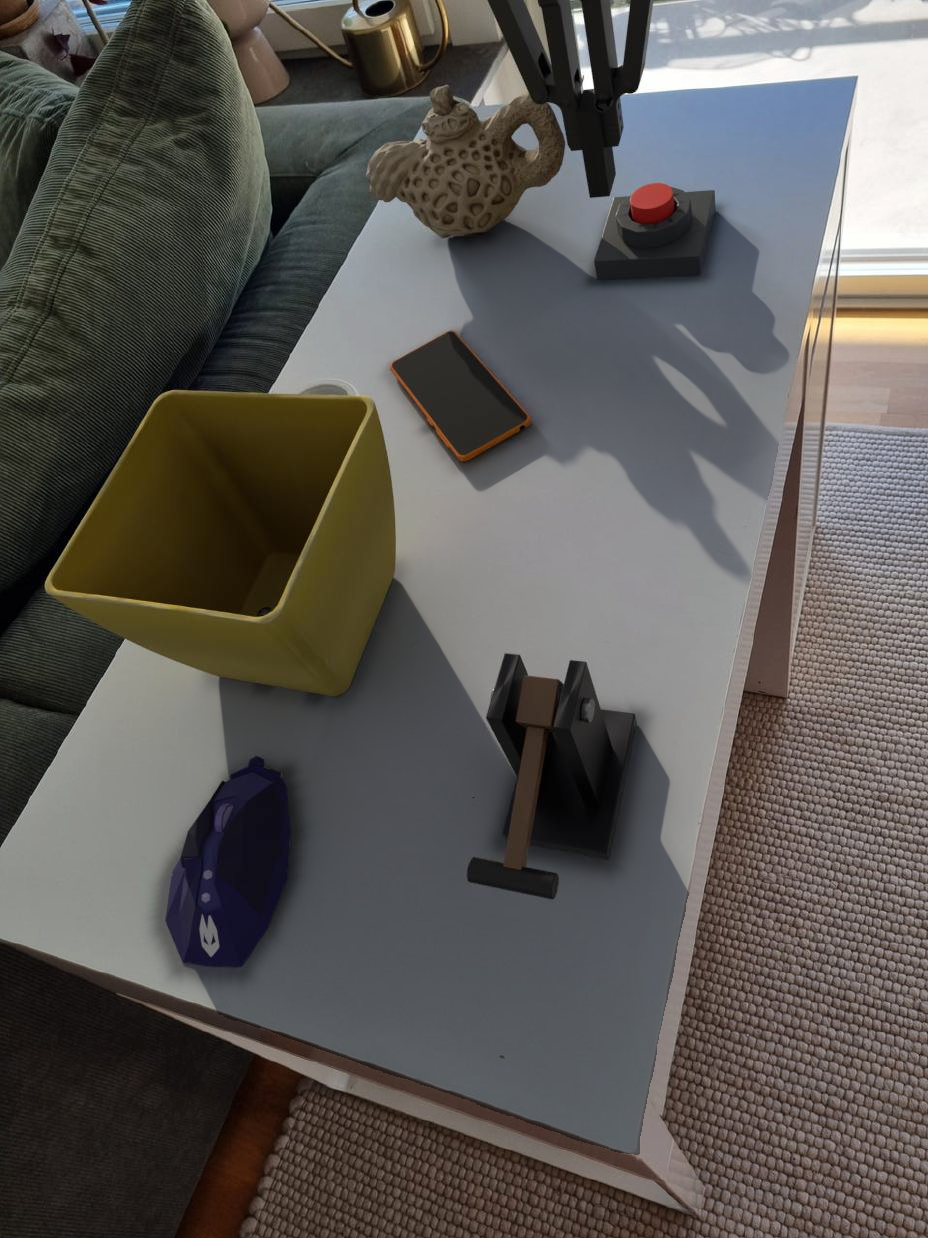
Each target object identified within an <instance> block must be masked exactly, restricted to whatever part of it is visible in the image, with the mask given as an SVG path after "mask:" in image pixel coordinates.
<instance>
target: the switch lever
mask: <svg viewBox="0 0 928 1238" xmlns="http://www.w3.org/2000/svg"><path fill="white" fill-rule="evenodd" d="M528 675H529V674H528ZM528 675H524V676H523V680H522V685H521V691H520V697H519V702H518V708H517V714H516V719H515V721H516V722H517V723H519V724H520V725H522V726H523V727H524V728H526V729H527V730H526V736H525V742H524V747H523V753H522V759H521V765H520V771H519V776H518V782H517V788H516V794H515V800H514V805H513V811H512V817H511V823H510V829H509V834H508V840H506V847H505V852H504V858H503V862H501V861H497V860H492V859H487V858H482V857H476V856H472V857H471V858H470V860H469V863H468V865H467V870H466V879H467V882H468V883H469V884H474V885H479V886H485V887H489V888H494V889H497V890H498V889H499V890H504V891H508V892H512V893H513V892H514V893H517V894H518V893H519V894H522V895H528V896H533V897H537V898H542V899H548V900H555V898H556V896H557V894H558V891H559V883H560V878H559V873H557V872H552V871H548V870H544V869H543V870H542V869H538V868H532V867H527V863H528V859H529V858H528V857H529V852H530V846H531V845H530V840H531V834H532V828H533V822H534V816H535V810H536V804H537V798H538V792H539V786H540V780H541V774H542V768H543V762H544V756H545V750H546V744H547V738H548V732H552V733H555V731H554V728H553V725H554V721H555V717H556V713H557V709H558V705H559V701H560V697H561V693H562V689H563V685H564V682H562V681H561V679H559V678H554V677H553V678H552V677H545V676H544V677H543V676H536V675H529V676H528Z"/></svg>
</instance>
